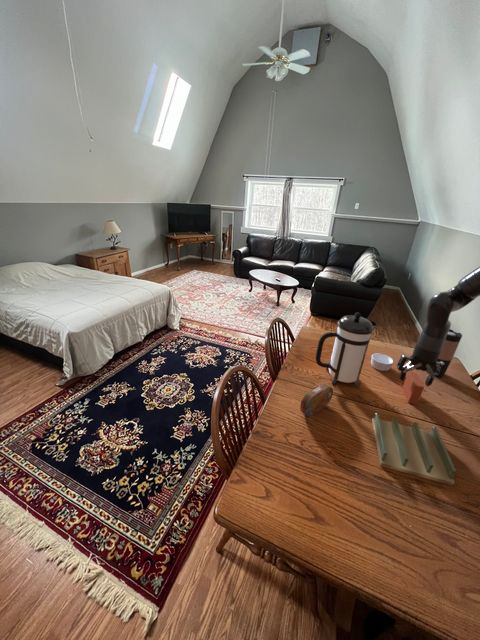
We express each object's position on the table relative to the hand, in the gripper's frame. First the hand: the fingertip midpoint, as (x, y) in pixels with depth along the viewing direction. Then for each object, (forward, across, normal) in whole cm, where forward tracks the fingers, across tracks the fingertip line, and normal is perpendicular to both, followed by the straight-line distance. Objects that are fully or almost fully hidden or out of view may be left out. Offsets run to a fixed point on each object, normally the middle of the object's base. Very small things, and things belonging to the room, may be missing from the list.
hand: (414, 382), depth 101 cm
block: (+6, 0, 0) cm, 7 cm away
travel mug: (+7, +16, +22) cm, 28 cm away
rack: (+6, -7, -28) cm, 29 cm away
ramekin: (+7, -8, +18) cm, 21 cm away
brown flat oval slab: (+7, -35, -20) cm, 41 cm away
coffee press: (+7, -26, +2) cm, 27 cm away
